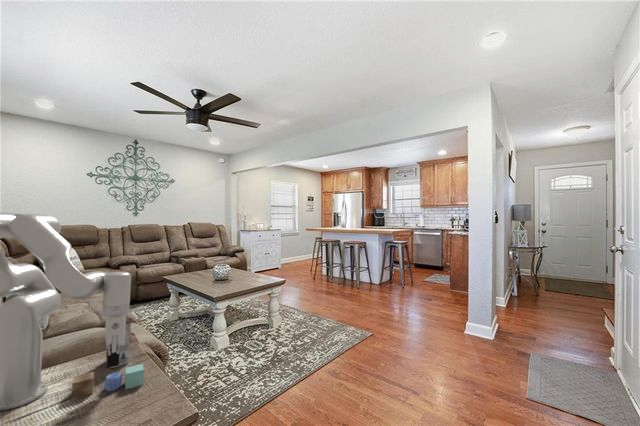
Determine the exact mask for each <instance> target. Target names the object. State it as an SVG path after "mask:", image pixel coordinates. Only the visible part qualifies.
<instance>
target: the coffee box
mask: <svg viewBox="0 0 640 426" xmlns="http://www.w3.org/2000/svg"><path fill="white" fill-rule="evenodd" d="M131 323H132V322H131V321H130V319H129V318H128V317H127V316H126V324H125V344H124V346H122V345H121V346H120V344H119V365H118V366H114V367H109V369H114V368H116V367H120V366H123V365H126V364H130V351H131V350H130V349H131V348H130V347H131V344H130V341H131V328H132V327H131ZM105 348H106V347H105ZM105 350H106V352H105V361H106V362H107V355H108V354H109V349H108V348H106V349H105Z"/></svg>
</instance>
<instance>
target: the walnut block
mask: <svg viewBox="0 0 640 426" xmlns="http://www.w3.org/2000/svg"><path fill="white" fill-rule="evenodd" d="M94 378H95V371H91V372H87V373H84V374H82V373H81V374H78V375H75V376H73V380H72V385H71V387H72V388H71V401H72V400H76V399H80V398H84V397H87V396H88V397H89V396H91V395H93V393H94V392H93V391H94V382H95V381H94Z"/></svg>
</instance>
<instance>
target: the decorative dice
mask: <svg viewBox="0 0 640 426" xmlns="http://www.w3.org/2000/svg"><path fill="white" fill-rule="evenodd" d="M122 382H123V374H122V373H121V372H112V373H110V374H108V375H106V377H105V379H104V385H103V386H104V390H105V391H107V392H112V391H116V390H118V389H119V388H120V387H121V386H122Z"/></svg>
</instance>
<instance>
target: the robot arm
mask: <svg viewBox="0 0 640 426" xmlns="http://www.w3.org/2000/svg"><path fill="white" fill-rule="evenodd" d="M61 231H62V225H61V223H60V221H59V220H58V219H57V218H55V217H54V216H52V215H49V214H48V215H47V214H34V213H31V214H30V213H28V214H25V213H14V212H13V213H12V212H9V213H8V212H0V239H16V240H17V241H18V242H19V244H21V245H22V246H23V247H25V249H27V250H28V251H29V252H30V253H31V254H32V255H33V256H34V257H36V258H37V259H38V260H39V261H40V262H41V263H42V266H43V270H42V269H41V268H40V267H38V266H36V265H34V264H32V263H27V262H26V263H25V262H24V263H16V264H15V263H12V262H11V261H10V260H9V259H8V257H6V256H5V253H4V252H3V251H2V250H1V249H0V298H5V297H9V296H12V295H17V296H14V297H12V298H9V299H8V300H5V301H4V302H3V303H2V304H1V305H0V411H6V410H10V409H15V408H18V407H22V406H23V405H27V404H29V403H31V402H33V401H35V400H37V399H39V398H41V397H42V396H43V395H44V394H46V392H47V391H48V386H47V384H45V383H41V382H42V381H41V380H42V365H43V364H42V360H43V344H44V343H43V342H44V341H43V340H44V338H43V337H44V335H43V333H44V332H43V329H42V326H41V325H40V320H43V319H44V318H46V317H49V316H51V315H53V314H54V313H55V312H57V311H58V309H59V308H60V307H61V303H62V298H61V295H60V293H61V294H63V295H64V296H66V297H67V298H69V299H72V300H75V301H76V300H77V301H79V300H80V301H82V300H86V299H87V298H90V297H93V296H95V295H97V294H101V293H102V304H101V305H102V306H101V317H103V318H105V345H106V346H105V348H108V349H109V354H108V355H107V361H106V369H107V368H109V369H110V367H113V368H115V367H114V366H117V367H119V366H118V365H119V344H120V346H121V345H122V346H124V344H125V324H126V317H127V316H126V315H128V314H129V313H130V306H131V305H130V304H131V303H130V302H131V288H132V287H131V286H132V285H131V282H132V275H131V273H130V272H127V271H114V272H109V271H103V270H102V271H99V270H95V271H91V272H85V273H82V272H81V271H80V270H79V269H78V268H77V267H75V266H74V264H73V263H72V261H71V259H70V252H71V250H72V244H71V243H70V242H69V241H68V240H66V238H64V237H63V236H62V235H61V234H60V233H61ZM43 271H44V272H43Z"/></svg>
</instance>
